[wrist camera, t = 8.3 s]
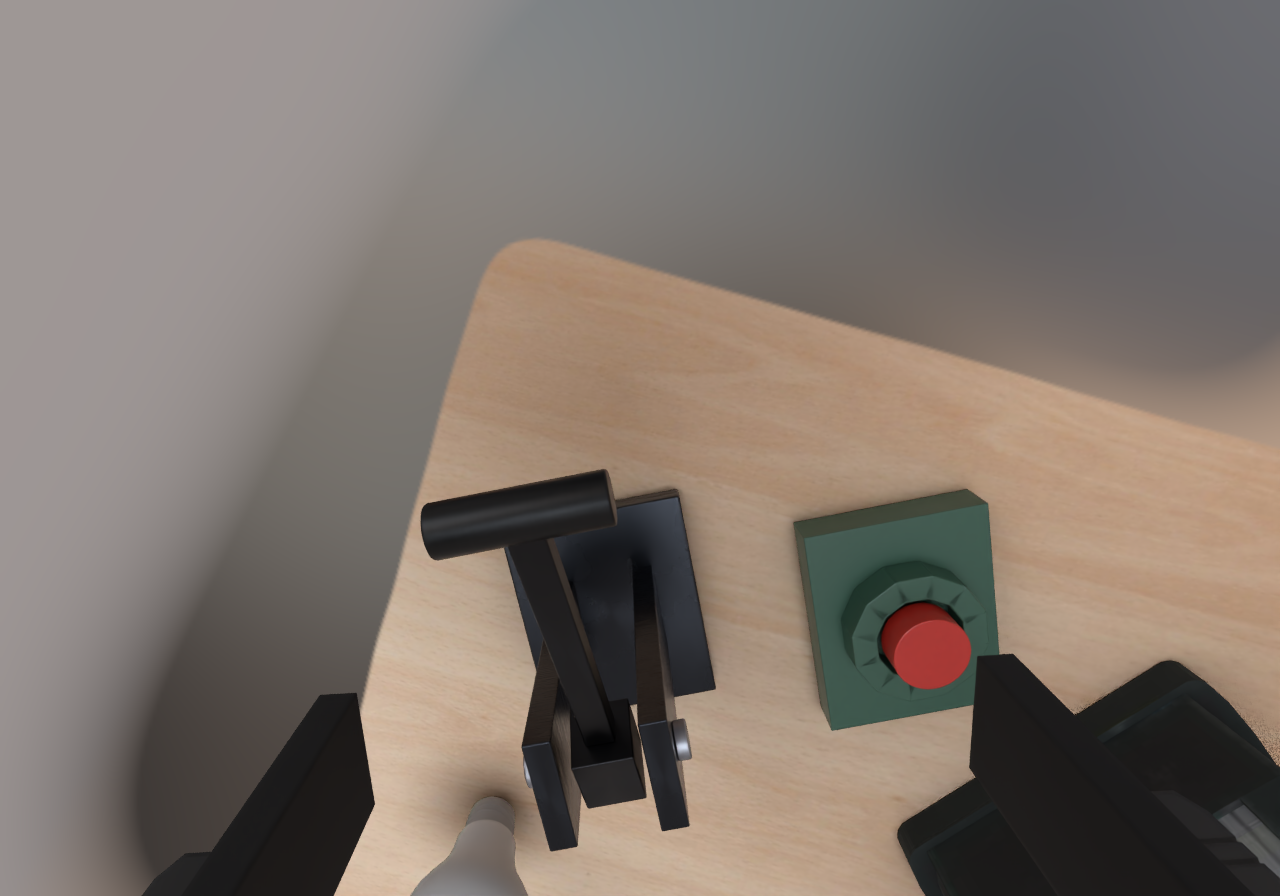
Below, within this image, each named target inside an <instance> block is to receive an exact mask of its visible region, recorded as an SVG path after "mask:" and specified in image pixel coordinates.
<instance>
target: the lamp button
mask: <svg viewBox="0 0 1280 896" xmlns="http://www.w3.org/2000/svg"><path fill="white" fill-rule="evenodd" d="M881 644H882V649H883V651H884V653H885V655H886V657H887V658H888V660H889V661H890V663H891V664H892V666H893V667H894V669H895V671H896V672H897V674H898V675H899V676H900V678H901V679H902V680H903V681H905V682H906V683H907V684H909V685H911V686H914V687H916V688H920V689H936V688H940V687H943V686H946V685H948V684H950V683H952V682H953V681H955V680H956V679H957V678H958V677H959V676H960V675H961V674H962V673H963V672H964V671H965V669H966V667H967V666H968V663H969V661H970V657H971V644H970V641H969V638H968V636H967V634H966V633H965V631H964V630H963V629H962V628H961V627H960V626H959V625H958V624H957V623H956V621H955V620H954V619H953V618H952V617H951V616H950V615H949V614H948V613H947V612H946V611H945V610H944V609H943V608H941V607H939V606H937V605H934V604H930V603H914V604H910V605H907V606H905V607H903V608H901V609H899V610H898V611H896V612H895V613H894V614H893V615H892V616H891V617H890V618H889V619H888V621H887V622H886V624H885V626H884V629H883V632H882V637H881Z"/></svg>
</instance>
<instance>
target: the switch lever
mask: <svg viewBox="0 0 1280 896" xmlns="http://www.w3.org/2000/svg"><path fill="white" fill-rule="evenodd" d="M616 525H617V511H616V504H615V499H614V494H613V489H612V484H611V480H610V477H609V474H608V472H607V470H606V469H601V470H596V471H591V472H585V473H580V474H575V475H570V476H565V477H560V478H555V479H550V480H544V481H539V482H534V483H529V484H524V485H519V486H514V487H509V488H503V489H498V490H493V491H488V492H483V493H478V494H473V495H468V496H462V497H457V498H452V499H447V500H442V501H437V502H432V503H427V504H426V505H424V506H423V508H422V512H421V532H422V538H423V542H424V545H425V548H426V550H427V552H428V554H429V556H430V557H431V558H432V559H434V560H443V559H448V558H453V557H458V556H463V555H469V554H474V553H479V552H484V551H489V550H494V549H500V548H505V547H507V548H508V550H509V553H510V555H511V558H512V560H513V563H514V565H515V568H516V571H517V573H518V576H519V578H520V581H521V583H522V586H523V588H524V591H525V593H526V596H527V598H528V601H529V603H530V606H531V609H532V611H533V614H534V616H535V619H536V621H537V624H538V626H539V629H540V631H541V634H542V636H543V639H544V642H545V644H546V647H547V649H548V652H549V654H550V657H551V659H552V662H553V664H554V667H555V669H556V672H557V675H558V677H559V680H560V682H561V685H562V687H563V690H564V692H565V695H566V697H567V700H568V702H569V705H570V707H571V709H570V747H571V770H572V772H573V775H574V777H575V779H576V782H577V784H578V786H579V789H580V791H581V793H582V796H583V798H584V800H585V803H586V805H587V807H588V808H589V809H590V808H595V807H600V806H606V805H611V804H617V803H622V802H628V801H633V800H639V799H644V798H646V786H645V777H644V767H643V758H642V748H641V739H640V736H639V733H638V729H637V726H636V723H635V720H634V716H633V713H632V710H631V707H630V704H629V700H628V699H627V698H625V699H620V700H615V701H608V698H607V695H606V692H605V689H604V686H603V683H602V680H601V677H600V674H599V671H598V668H597V665H596V662H595V659H594V656H593V653H592V650H591V647H590V644H589V641H588V638H587V635H586V632H585V629H584V626H583V623H582V621H581V618H580V615H579V612H578V609H577V606H576V603H575V600H574V597H573V594H572V591H571V588H570V585H569V582H568V579H567V576H566V573H565V570H564V567H563V564H562V561H561V558H560V555H559V552H558V549H557V546H556V543H555V540H554V538H557V537H562V536H567V535H572V534H577V533H583V532H588V531H593V530H598V529H603V528H608V527H614V526H616Z"/></svg>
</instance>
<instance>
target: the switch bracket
mask: <svg viewBox="0 0 1280 896" xmlns="http://www.w3.org/2000/svg"><path fill="white" fill-rule="evenodd" d="M615 504H616V511H617V525H616V526H614V527H608V528H603V529H598V530H593V531H588V532H583V533H577V534H572V535H567V536H562V537H557V538H554V540H555V543H556V546H557V549H558V552H559V555H560V558H561V561H562V564H563V567H564V570H565V573H566V576H567V579H568V582H569V585H570V588H571V591H572V594H573V597H574V600H575V603H576V606H577V609H578V612H579V615H580V618H581V621H582V623H583V626H584V629H585V632H586V635H587V638H588V641H589V644H590V647H591V650H592V653H593V656H594V659H595V662H596V665H597V668H598V671H599V674H600V677H601V680H602V683H603V686H604V689H605V692H606V695H607V698H608V701H615V700H620V699H625V698H627V699H628V700H629V704H630V705H635V704H637V714H638V728H639V733H640V737H641V742H642V746H643V750H644V755H645V759H646V764H647V768H648V772H649V777H650V781H651V786H652V790H653V794H654V799H655V803H656V808H657V812H658V817H659V821H660V825H661V830H662V831H667V830H672V829H678V828H683V827H688V826H689V825H690V824H689V816H688V808H687V799H686V791H685V783H684V775H683V766H682V761H683V760H689V759H691V758H692V754H691V747H690V741H689V736H688V731H687V726H686V721H685V719H678V720H677V717H676V708H675V700H674V697H678V696H683V695H688V694H694V693H699V692H704V691H710V690H715V689H716V686H715V681H714V676H713V670H712V665H711V660H710V655H709V649H708V644H707V639H706V634H705V629H704V623H703V618H702V613H701V608H700V602H699V597H698V592H697V587H696V582H695V576H694V571H693V566H692V561H691V555H690V550H689V545H688V540H687V534H686V529H685V524H684V519H683V514H682V508H681V503H680V498H679V494H678V490H677V489H673V490H668V491H663V492H658V493H652V494H647V495H642V496H637V497H632V498H627V499H621V500H616V501H615ZM504 550H505V554H506V557H507V561H508V565H509V569H510V573H511V576H512V580H513V584H514V588H515V592H516V595H517V599H518V603H519V607H520V611H521V614H522V618H523V622H524V626H525V630H526V633H527V637H528V641H529V645H530V649H531V652H532V656H533V660H534V664H535V668H536V671H537V672H536V677H535V682H534V687H533V692H532V697H531V702H530V707H529V712H528V717H527V722H526V727H525V732H524V737H523V742H522V747H521V748H522V751H523V755H524V757H523V766H524V774H525V779H526V782H527V785H528V787H529V788H533V791H534V794H535V798H536V802H537V805H538V809H539V812H540V816H541V820H542V823H543V827H544V830H545V834H546V838H547V841H548V845H549V848H550V851H557V850H562V849H568V848H573V847H577V846H578V833H579V820H580V806H581V791H580V789H579V786H578V784H577V782H576V779H575V777H574V775H573V772H572V770H571V747H570V709H571V707H570V705H569V702H568V700H567V697H566V695H565V692H564V690H563V687H562V685H561V682H560V680H559V677H558V675H557V672H556V669H555V667H554V664H553V662H552V659H551V657H550V654H549V652H548V649H547V647H546V644H545V642H544V639H543V636H542V634H541V631H540V629H539V626H538V624H537V621H536V619H535V616H534V614H533V611H532V609H531V606H530V603H529V601H528V598H527V596H526V593H525V591H524V588H523V586H522V583H521V581H520V578H519V576H518V573H517V571H516V568H515V565H514V563H513V560H512V558H511V555H510V553H509V550H508V548H507V547H505V548H504Z"/></svg>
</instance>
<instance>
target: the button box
mask: <svg viewBox="0 0 1280 896" xmlns="http://www.w3.org/2000/svg"><path fill="white" fill-rule="evenodd" d="M794 530H795V536H796V543H797V550H798V556H799V563H800V570H801V576H802V583H803V590H804V596H805V603H806V610H807V617H808V623H809V630H810V637H811V643H812V650H813V657H814V663H815V670H816V677H817V683H818V690H819V697H820V703H821V707H822V710H823V712H824V714H825V716H826V719H827V721H828V723H829V725H830V728H831V730H832V731H834V730H839V729H844V728H850V727H855V726H861V725H866V724H872V723H877V722H882V721H888V720H893V719H899V718H904V717H910V716H915V715H920V714H926V713H931V712H937V711H942V710H947V709H953V708H958V707H964V706H969V705H974V694H975V680H976V666H977V656H985V655H999V644H998V630H997V617H996V603H995V590H994V577H993V563H992V550H991V536H990V523H989V510H988V503H987V502H985V501H984V500H982V499H981V498H979V497H978V496H977V495H975V494H974V493H972V492H971V491H969V490H968V489H966V490H961V491H956V492H951V493H945V494H940V495H935V496H930V497H924V498H919V499H914V500H909V501H904V502H898V503H893V504H888V505H883V506H878V507H872V508H867V509H862V510H857V511H851V512H846V513H841V514H836V515H831V516H825V517H820V518H815V519H810V520H805V521H799V522H794ZM914 603H930V604H934V605H937V606H939V607H941V608H943V609H944V610H945V611H946V612H947V613H948V614H949V615H950V616H951V617H952V618H953V619H954V620H955V621H956V623H957V624H958V625H959V626H960V627H961V628H962V629H963V630H964V631H965V633H966V634H967V636H968V638H969V641H970V644H971V657H970V661H969V663H968V666H967V667H966V669H965V671H964V672H963V673H962V674H961V675H960V676H959V677H958V678H957V679H956V680H955V681H953V682H952V683H950V684H948V685H946V686H943V687H940V688H936V689H920V688H916V687H914V686H911V685H909V684H907V683H906V682H905V681H903V680H902V679H901V678H900V676H899V675H898V674H897V672H896V671H895V669H894V667H893V666H892V664H891V663H890V661H889V660H888V658H887V657H886V655H885V653H884V651H883V649H882V644H881V637H882V632H883V629H884V626H885V624H886V622H887V621H888V619H889V618H890V617H891V616H892V615H893V614H894V613H895V612H896V611H898V610H899V609H901V608H903V607H905V606H907V605H910V604H914Z"/></svg>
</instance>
